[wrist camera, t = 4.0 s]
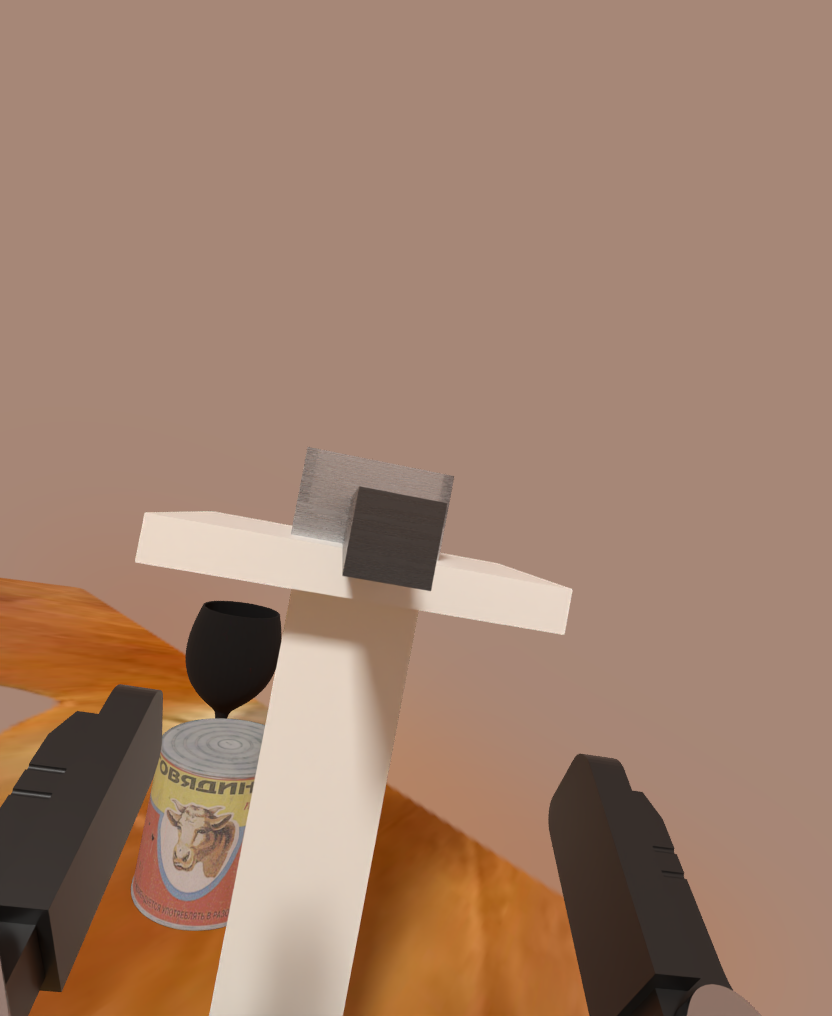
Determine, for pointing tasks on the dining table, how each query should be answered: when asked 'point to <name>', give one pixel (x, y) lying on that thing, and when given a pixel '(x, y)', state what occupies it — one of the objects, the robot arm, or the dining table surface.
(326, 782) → the white i-beam pedestal
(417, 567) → the brushed metal dustpan
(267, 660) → the wine glass
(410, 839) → the dining table surface
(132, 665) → the dining table surface
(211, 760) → the canned food
